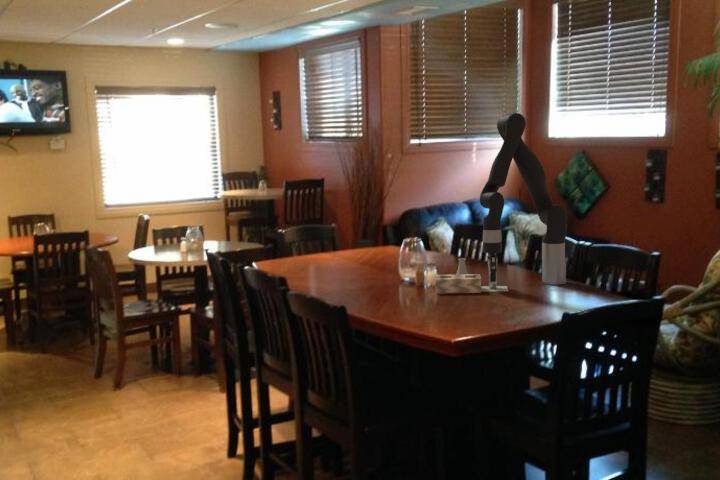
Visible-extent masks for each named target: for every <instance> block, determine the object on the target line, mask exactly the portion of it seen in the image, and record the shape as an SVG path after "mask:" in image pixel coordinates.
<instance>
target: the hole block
mask: <svg viewBox="0 0 720 480" xmlns="http://www.w3.org/2000/svg"><path fill="white" fill-rule="evenodd" d="M481 286H482V277H481V273H473V274H472V273H471V274H470V273H468V274H457V273H455V274H436V275H435V291H436V293H435V295H444V294H469V293H470V294H475V293H476V294H477V293H479V294H480V293H482V292H481Z"/></svg>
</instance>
